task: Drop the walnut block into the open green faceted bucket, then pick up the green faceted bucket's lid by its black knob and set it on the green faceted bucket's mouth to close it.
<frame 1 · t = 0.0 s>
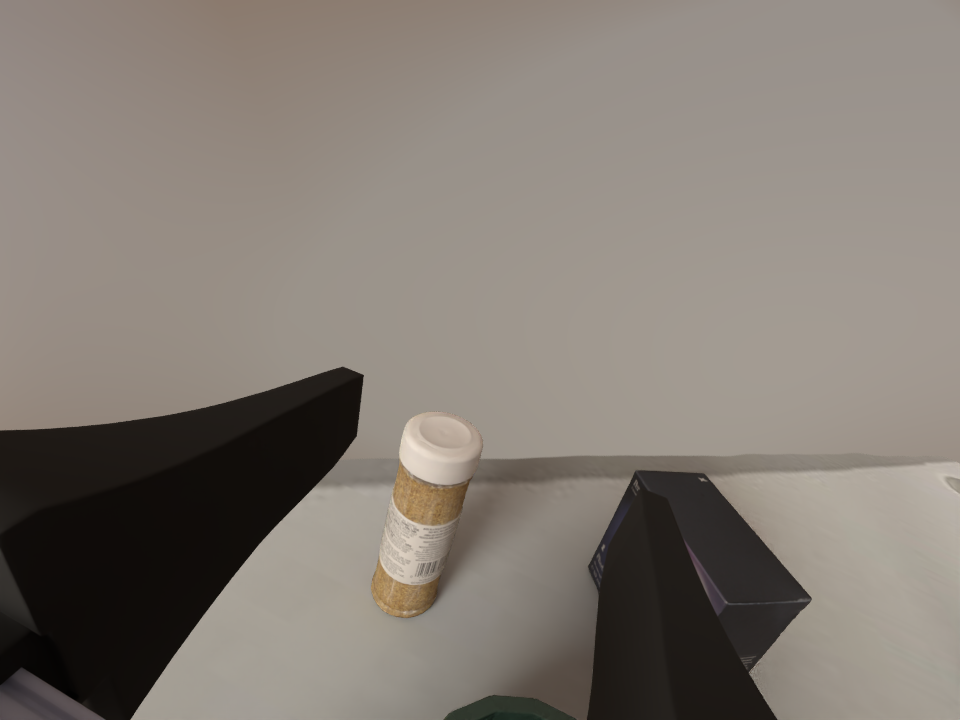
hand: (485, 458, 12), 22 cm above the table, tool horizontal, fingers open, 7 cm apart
sprinkles bottle: (402, 591, 32), on the table
small box: (646, 629, 35), on the table
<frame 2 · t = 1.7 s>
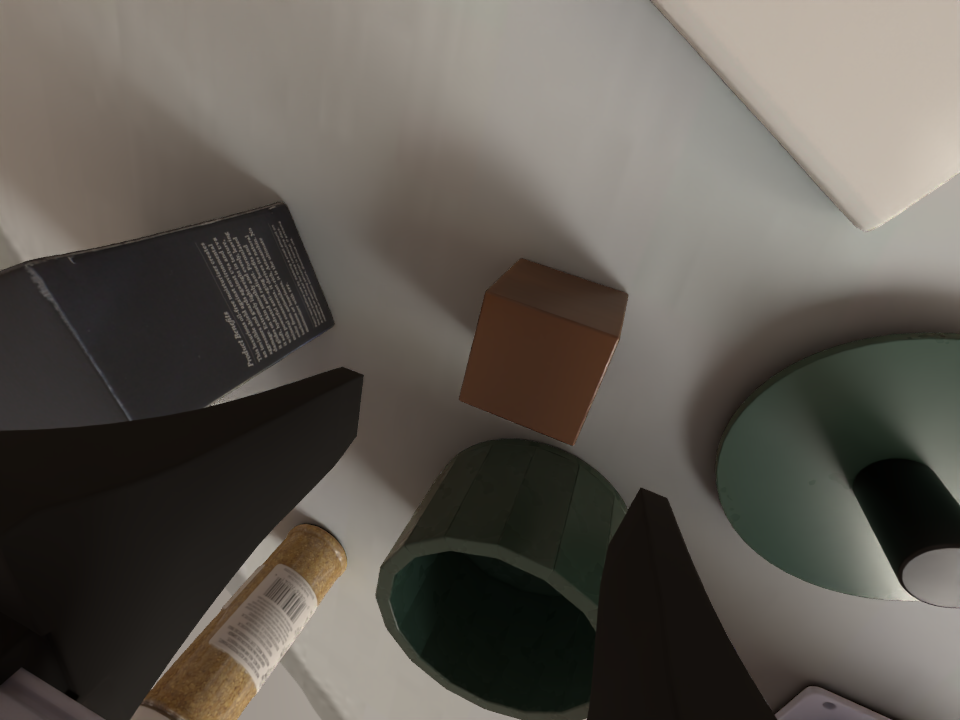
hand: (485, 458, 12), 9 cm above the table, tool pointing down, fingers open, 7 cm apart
green faceted bucket: (529, 522, 25), on the table
sprinkles bottle: (322, 545, 32), on the table
block: (556, 324, 19), on the table
small box: (239, 286, 24), on the table
lid: (888, 476, 17), point 1 cm above the table
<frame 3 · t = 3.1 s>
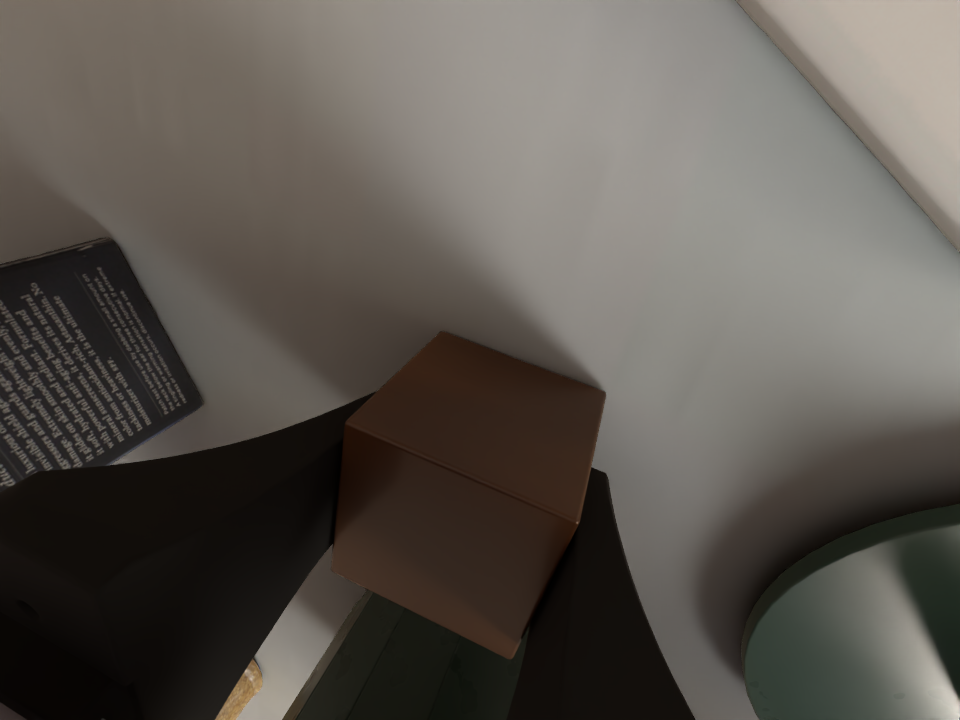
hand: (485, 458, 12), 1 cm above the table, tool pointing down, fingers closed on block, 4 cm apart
green faceted bucket: (480, 667, 18), on the table
sprinkles bottle: (234, 654, 25), on the table
block: (500, 426, 13), on the table, touching gripper
small box: (83, 346, 18), on the table
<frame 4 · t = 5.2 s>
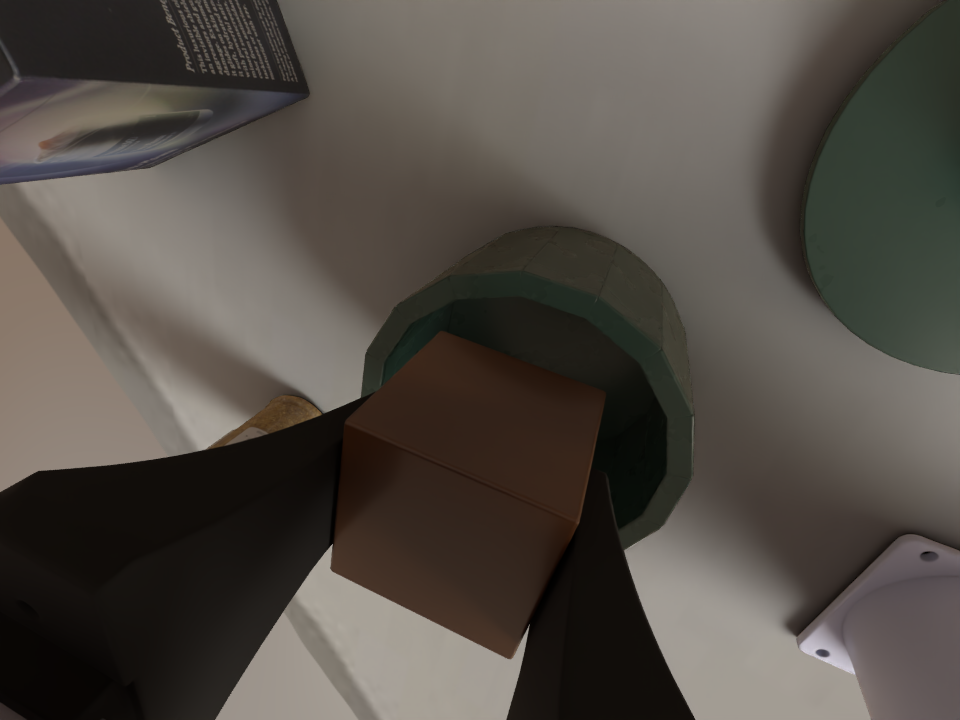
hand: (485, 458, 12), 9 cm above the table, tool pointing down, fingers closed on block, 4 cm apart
green faceted bucket: (551, 351, 20), on the table
sprinkles bottle: (306, 425, 28), on the table
block: (500, 426, 13), point 8 cm above the table, touching gripper
small box: (195, 64, 20), on the table
when the fingers open (5 cm above the table, at t = 7.7 s): block stays where it is, resting on green faceted bucket.
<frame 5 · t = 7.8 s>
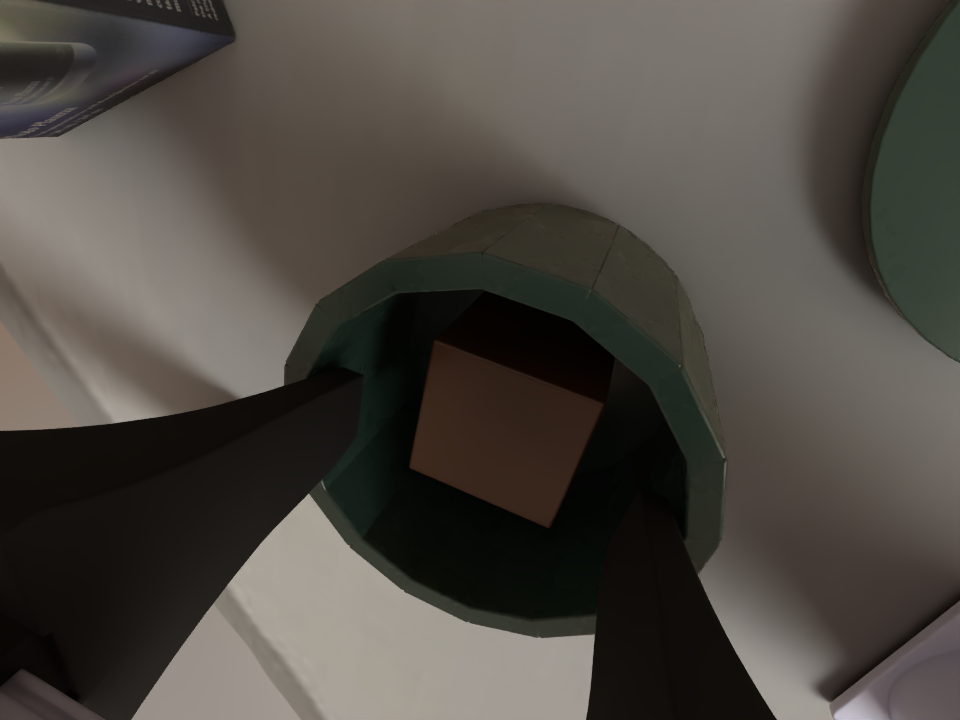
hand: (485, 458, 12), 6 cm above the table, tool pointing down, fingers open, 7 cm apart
green faceted bucket: (536, 359, 16), on the table
block: (533, 366, 16), resting on green faceted bucket
small box: (101, 4, 16), on the table
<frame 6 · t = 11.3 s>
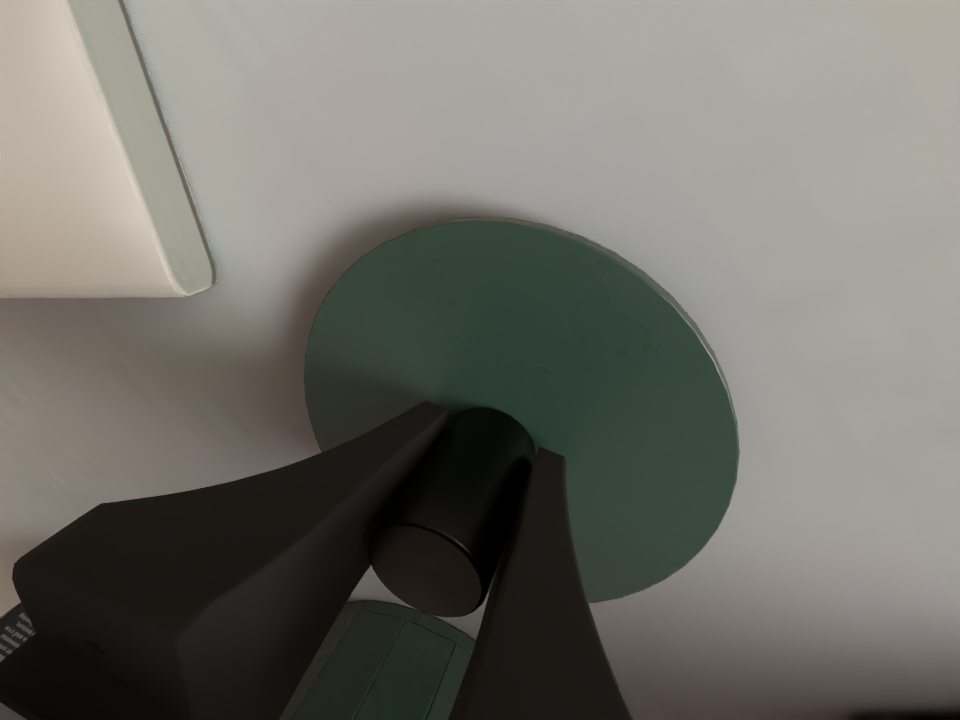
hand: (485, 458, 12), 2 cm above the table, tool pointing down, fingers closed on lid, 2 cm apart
green faceted bucket: (421, 687, 20), on the table
small box: (139, 617, 28), on the table
hard drive: (35, 156, 15), on the table
lid: (496, 435, 12), point 1 cm above the table, touching gripper
when the fingers open (7 cm above the table, at t = 15.0 s): lid stays where it is, resting on green faceted bucket.
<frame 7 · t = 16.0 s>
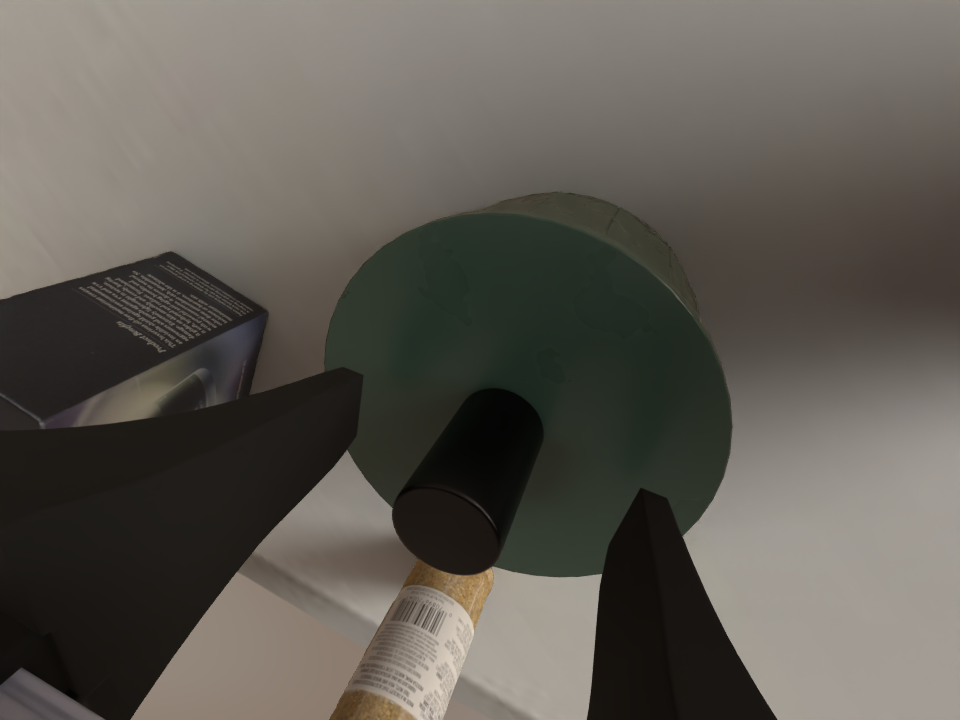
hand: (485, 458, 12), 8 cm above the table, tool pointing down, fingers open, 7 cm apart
green faceted bucket: (552, 330, 19), on the table
sprinkles bottle: (460, 562, 27), on the table
small box: (213, 356, 26), on the table
lid: (506, 415, 13), point 6 cm above the table, touching green faceted bucket
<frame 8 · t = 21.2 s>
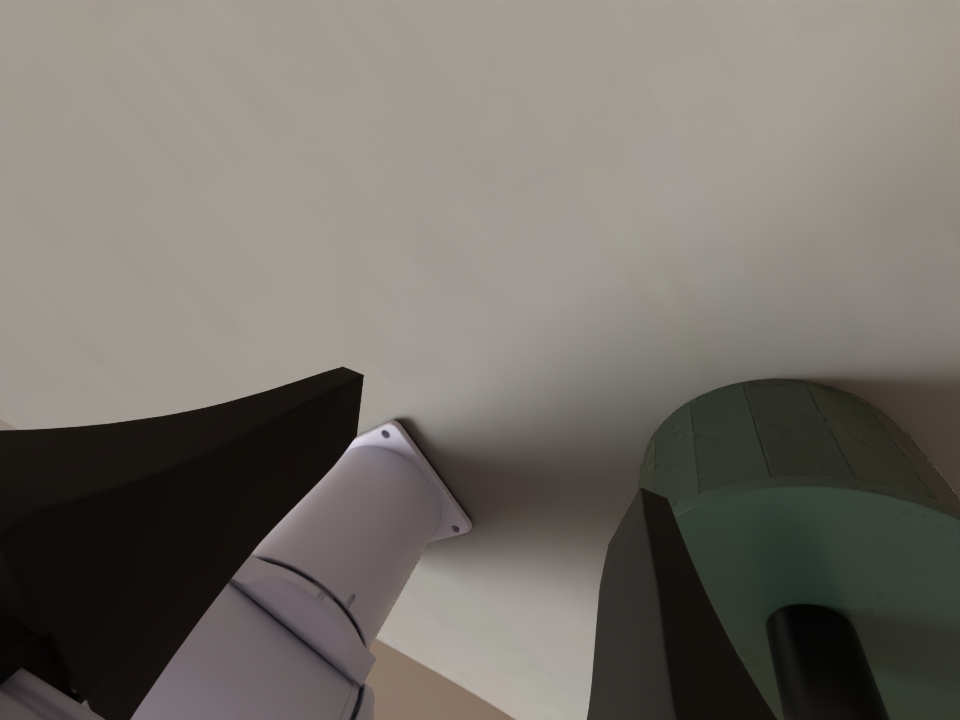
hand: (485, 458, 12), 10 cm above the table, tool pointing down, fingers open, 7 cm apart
green faceted bucket: (767, 484, 21), on the table
lid: (805, 616, 15), point 6 cm above the table, touching green faceted bucket
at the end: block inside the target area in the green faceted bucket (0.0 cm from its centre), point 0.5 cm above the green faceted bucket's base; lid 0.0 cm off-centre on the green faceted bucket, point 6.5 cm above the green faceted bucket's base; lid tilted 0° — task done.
